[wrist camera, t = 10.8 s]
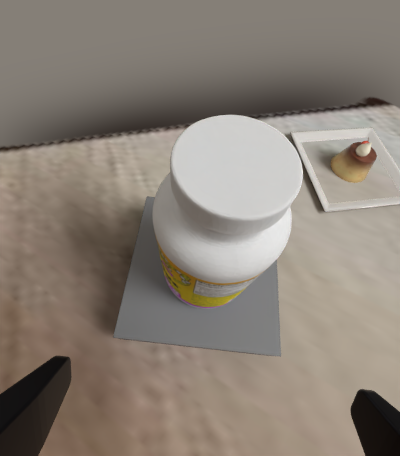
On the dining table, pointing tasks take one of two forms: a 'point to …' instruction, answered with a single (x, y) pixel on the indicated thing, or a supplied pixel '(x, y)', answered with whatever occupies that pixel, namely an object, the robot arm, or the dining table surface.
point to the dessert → (350, 163)
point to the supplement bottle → (224, 207)
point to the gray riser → (192, 316)
